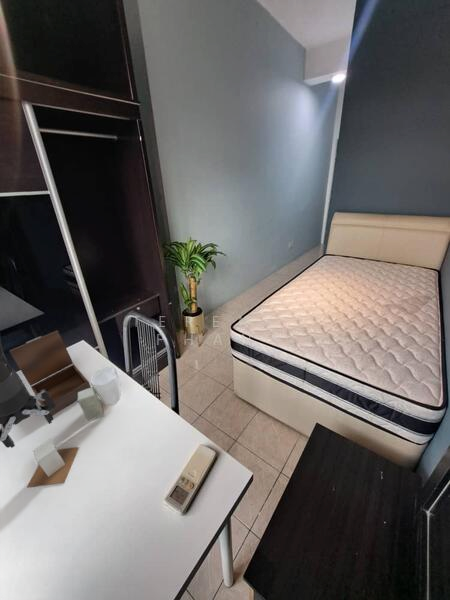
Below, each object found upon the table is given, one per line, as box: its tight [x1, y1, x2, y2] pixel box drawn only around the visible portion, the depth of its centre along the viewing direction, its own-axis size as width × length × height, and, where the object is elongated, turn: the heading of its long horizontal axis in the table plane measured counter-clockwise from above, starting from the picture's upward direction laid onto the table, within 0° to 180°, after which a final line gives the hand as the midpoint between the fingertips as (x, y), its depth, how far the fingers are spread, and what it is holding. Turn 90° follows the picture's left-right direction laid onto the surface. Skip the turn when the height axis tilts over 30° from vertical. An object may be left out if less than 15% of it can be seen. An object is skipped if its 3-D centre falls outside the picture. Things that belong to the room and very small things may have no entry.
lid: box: [9, 330, 74, 387], centre depth 97 cm, size 16×16×5 cm
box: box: [76, 386, 105, 421], centre depth 86 cm, size 5×4×11 cm
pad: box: [26, 446, 80, 488], centre depth 74 cm, size 10×10×1 cm
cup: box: [90, 367, 123, 406], centre depth 92 cm, size 9×9×12 cm
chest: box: [30, 363, 92, 417], centre depth 96 cm, size 16×16×6 cm
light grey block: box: [32, 438, 65, 477], centre depth 72 cm, size 4×4×8 cm
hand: (31, 432), depth 66 cm, fingers open, 8 cm apart
